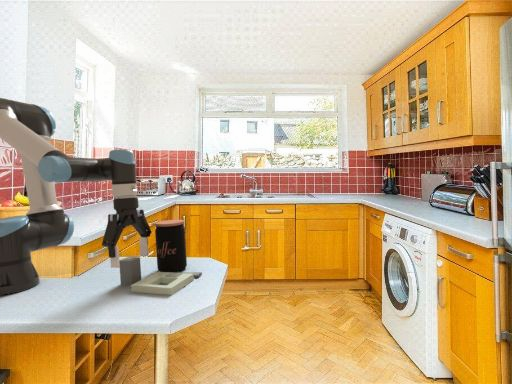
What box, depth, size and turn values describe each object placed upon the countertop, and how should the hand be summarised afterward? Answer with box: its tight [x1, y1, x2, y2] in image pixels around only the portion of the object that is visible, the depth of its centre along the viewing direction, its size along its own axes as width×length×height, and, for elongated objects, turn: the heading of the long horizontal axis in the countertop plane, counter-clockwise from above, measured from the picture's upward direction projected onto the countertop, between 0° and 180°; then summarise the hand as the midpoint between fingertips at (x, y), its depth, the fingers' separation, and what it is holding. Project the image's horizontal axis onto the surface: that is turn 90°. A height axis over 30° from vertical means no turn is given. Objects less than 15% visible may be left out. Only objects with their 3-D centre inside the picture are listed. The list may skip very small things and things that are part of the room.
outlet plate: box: [130, 271, 195, 296], centre depth 94 cm, size 14×13×2 cm
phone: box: [181, 271, 203, 279], centre depth 102 cm, size 7×4×1 cm, turn 82°
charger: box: [119, 256, 142, 286], centre depth 98 cm, size 4×4×8 cm
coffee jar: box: [154, 219, 188, 273], centre depth 110 cm, size 11×11×18 cm
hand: (130, 261), depth 98 cm, fingers open, 13 cm apart
